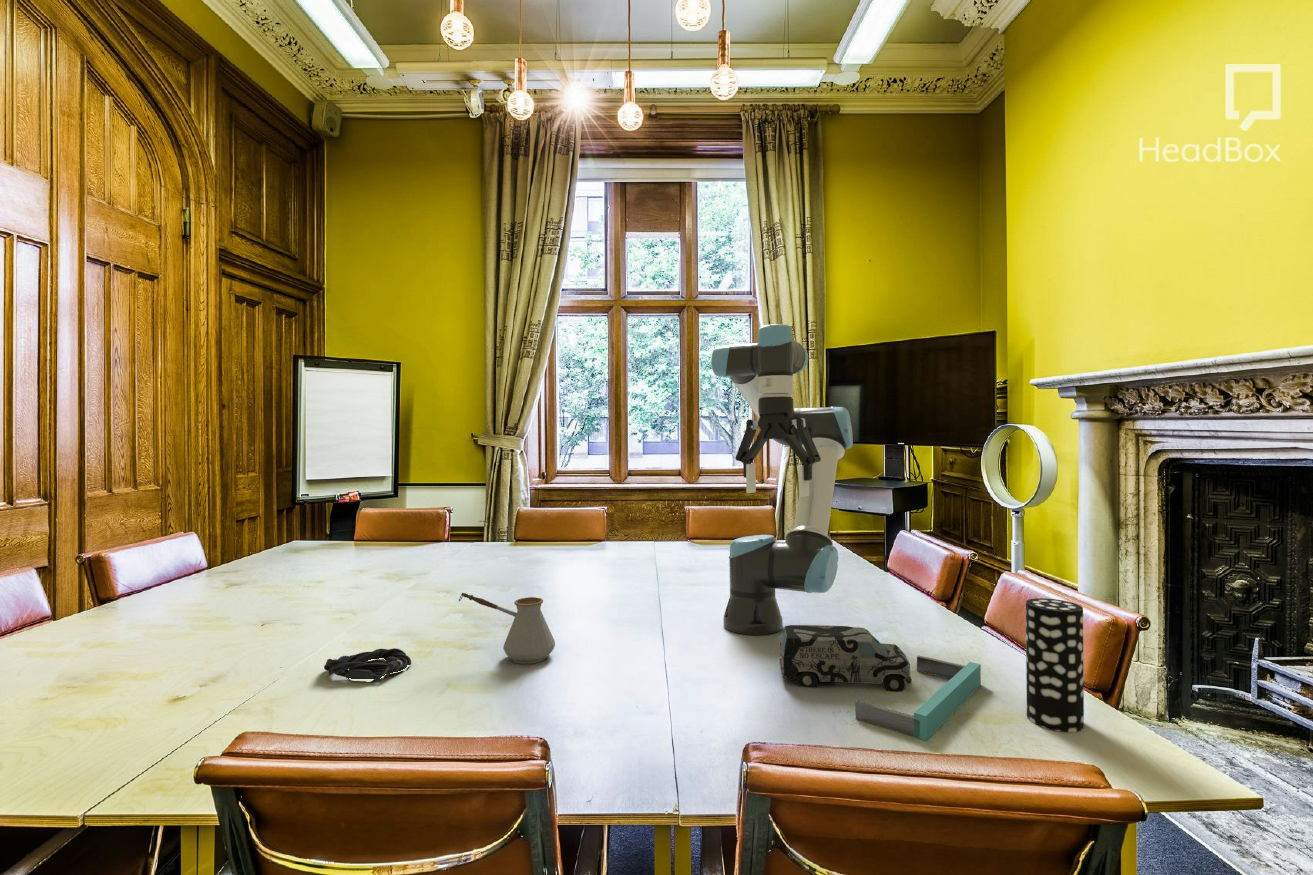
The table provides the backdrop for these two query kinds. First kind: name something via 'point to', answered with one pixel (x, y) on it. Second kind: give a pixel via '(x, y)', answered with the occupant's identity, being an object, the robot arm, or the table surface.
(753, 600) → the robot arm
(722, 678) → the table surface
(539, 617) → the coffee pot
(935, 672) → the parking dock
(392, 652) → the cable
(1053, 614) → the white-spotted black cylinder
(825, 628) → the toy car
